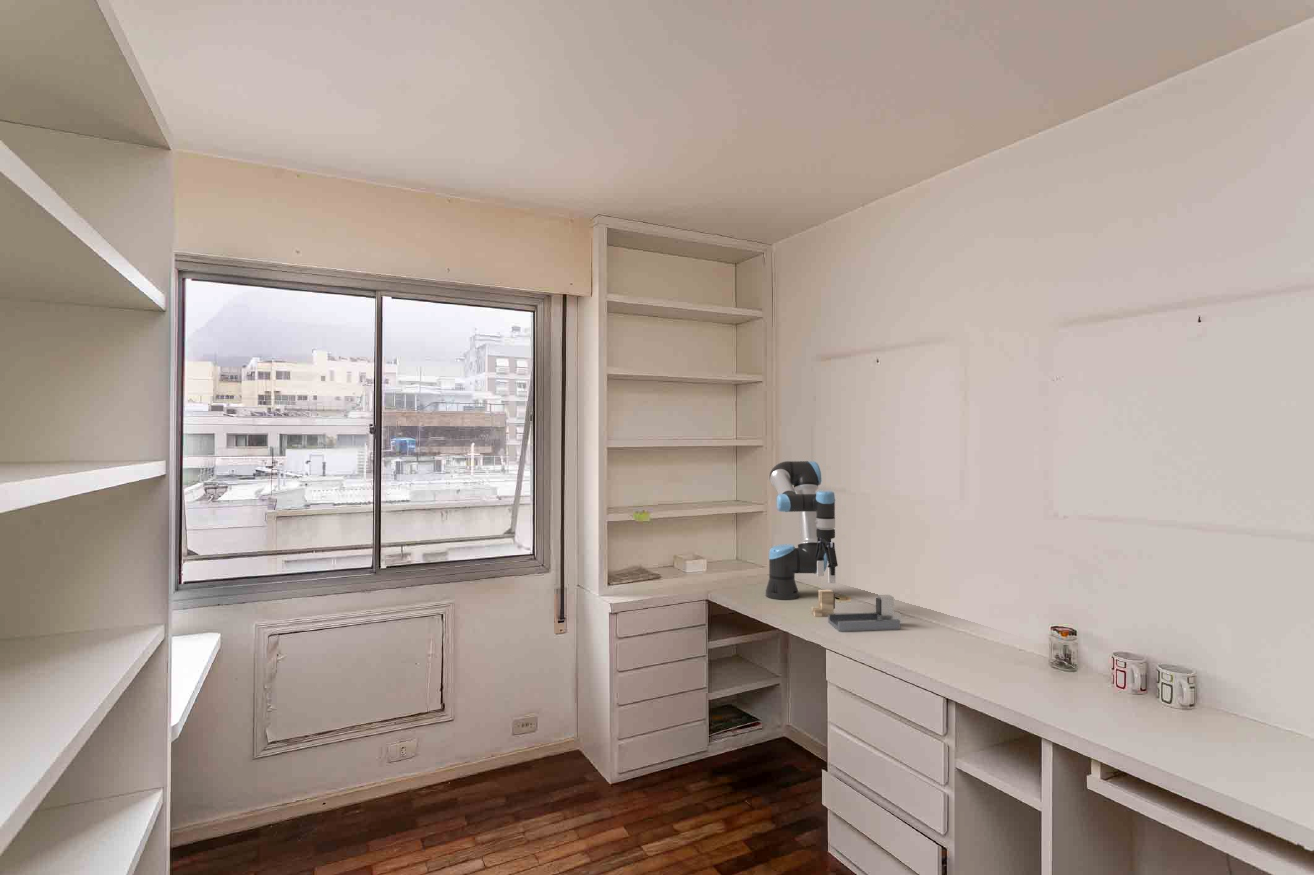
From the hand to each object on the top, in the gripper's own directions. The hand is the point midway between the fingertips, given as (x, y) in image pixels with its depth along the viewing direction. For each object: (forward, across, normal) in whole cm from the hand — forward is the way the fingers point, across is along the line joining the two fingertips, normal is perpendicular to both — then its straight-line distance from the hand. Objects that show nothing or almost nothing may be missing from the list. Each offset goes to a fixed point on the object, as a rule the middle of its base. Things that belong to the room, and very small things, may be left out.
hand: (826, 579), depth 278 cm
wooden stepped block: (+15, -1, -1) cm, 15 cm away
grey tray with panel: (+15, +16, +10) cm, 25 cm away
